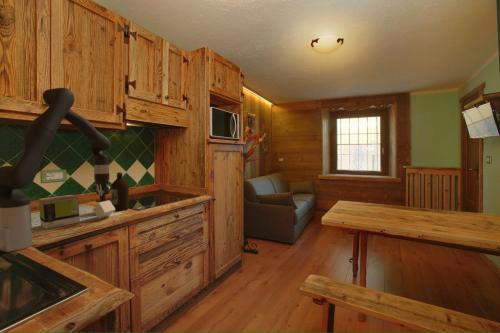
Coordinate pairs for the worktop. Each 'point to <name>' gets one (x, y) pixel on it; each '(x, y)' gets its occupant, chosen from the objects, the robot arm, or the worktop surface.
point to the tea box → (59, 211)
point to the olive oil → (120, 193)
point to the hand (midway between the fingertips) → (102, 201)
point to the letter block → (104, 209)
